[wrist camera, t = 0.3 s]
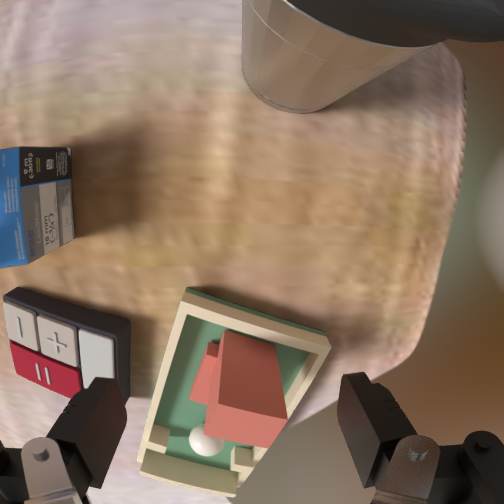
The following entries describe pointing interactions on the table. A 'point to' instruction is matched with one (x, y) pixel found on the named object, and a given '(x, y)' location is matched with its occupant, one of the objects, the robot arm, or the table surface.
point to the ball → (205, 442)
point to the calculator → (66, 343)
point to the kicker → (241, 390)
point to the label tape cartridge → (34, 203)
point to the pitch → (193, 413)
